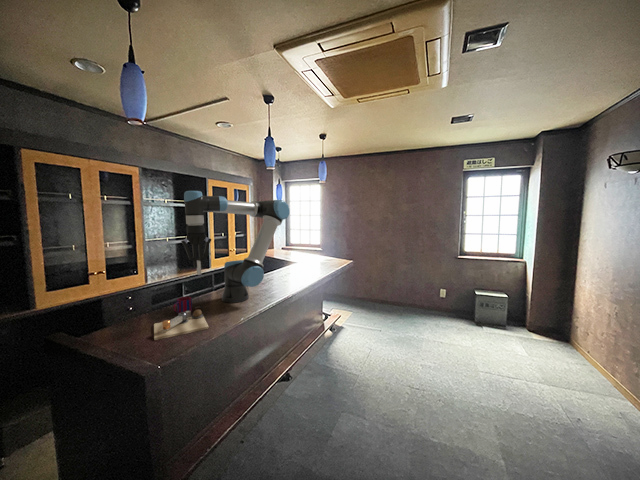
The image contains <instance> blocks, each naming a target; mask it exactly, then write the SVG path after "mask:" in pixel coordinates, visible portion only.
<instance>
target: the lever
mask: <svg viewBox="0 0 640 480" xmlns="http://www.w3.org/2000/svg"><path fill="white" fill-rule="evenodd" d="M191 312H192V311H186V312H181V313H178V315H177V316H175V317H174V318H171V319H164V320H162V321H161V322H162V324H163V330H168V329H170V328H172V327H174V326H175V325H177V324H179V323H180V322H184V321H187V318H189V317H192V313H191Z"/></svg>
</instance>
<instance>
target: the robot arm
mask: <svg viewBox="0 0 640 480" xmlns="http://www.w3.org/2000/svg"><path fill="white" fill-rule="evenodd" d="M183 202H184V211H185V212H184V213H185V224H186V227H185V228H186V236H185V239H183V240H180V243H181V244H182V245H183V247H184V250H185V251H186V255H187V258H188V260H189V261H192V262H193V267H194V269H196V274H197V275H198V276H200V275H201V276H202V268H203V267H204V260H206V259H207V258H208V252H209V247H210V244H211V242H212V238H210V237H207V235H206V230H205V225H204V224H205V218H204V217H205V216H204V213H215V214H216V213H220V214H229V215H230V214H231V215H232V214H234V215H244V216H245V215H247V216H250V217H252V218H253V217H254V218H260V219H263V221H262V224H261V227H260V229H259V231H258V234H257V236H256V238H255V240H254V243H253V245H252V247H251V250H250V251H249V254H248V257H245V258H244V259H240V260H239V259H238V260H237V259H236V260H229V261H225V262H224V265H223V266H224V267H223V269H224V289H223V292H222V294H221V295H222V296H221V301H222V302H224V303H231V304H235V303H241V302H244V301H247V300H249V296H250V295H249V291H248V289H247V287H249V288H254V287H257V286H258V285H260V284H261V283H262V282H263V280H264V276H265V273H264V267H265V266H264V264H263V263H264V260H265V257H266V255H267V252H268V250H269V248H270V246H271V242H272V240H273V238H274V235H275V233H276V231H277V228H278V227H279V226H281V225H282V223H283V221H284V220H287V218H289V216H290V213H291V212H290V210H291V209H290V206H289V204H288V203H287V202H286V201H285V200H284V199H283V200H282V199H269V200H268V199H267V200H260V201H259V200H258V201H257V200H256V201H254V200H252V201H240V200H232V199H230V200H229V199H227V198H226V196H221V195H203V193H202V191H201V190H186V191H185V192H184V193H183ZM188 242H189V243H190V244H191V247H192V249H191V250H190V247H189V246H188ZM204 242H205V245H204V251H203V243H204ZM197 246H198V248H197ZM197 249H198V255H197ZM191 251H192V254H191ZM197 256H198V258H197Z"/></svg>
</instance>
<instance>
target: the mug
mask: <svg viewBox="0 0 640 480" xmlns="http://www.w3.org/2000/svg"><path fill="white" fill-rule="evenodd" d="M176 308H177V309H176ZM172 309H173V312H175V313H177V314H179V313H181V312H186V311H191V312H192V311H193V299H192V297H191V296H182V297H178V298H176V302H175V303H174V304H173V308H172Z"/></svg>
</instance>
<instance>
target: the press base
mask: <svg viewBox="0 0 640 480" xmlns="http://www.w3.org/2000/svg"><path fill="white" fill-rule="evenodd" d="M162 322H163V321H161V322H156V323H154V324H153V339H154V341H157V340H162V339H167V338H172V337H177V336H181V335H185V334H190V333H196V332H200V331H204V330H209V328H210V327H209V325H208V322H207V321H206V318H205V316H204V314H203V312H202V310H201V309H195V310H194V311H193V313H192V315H191V316H190V317H189V318H187V321H184V322H180V323H179V324H177V325H175V326H174V327H172V328H170V329H168V330H163V324H162Z"/></svg>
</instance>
